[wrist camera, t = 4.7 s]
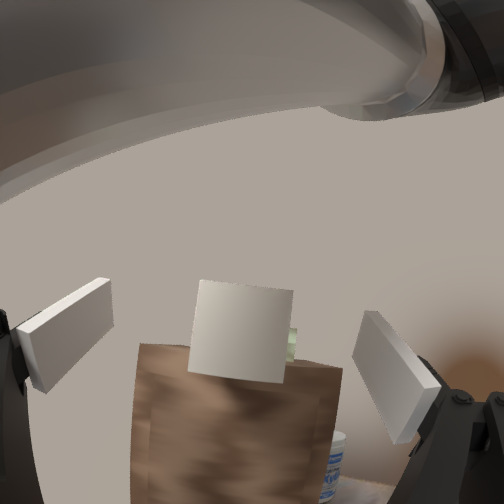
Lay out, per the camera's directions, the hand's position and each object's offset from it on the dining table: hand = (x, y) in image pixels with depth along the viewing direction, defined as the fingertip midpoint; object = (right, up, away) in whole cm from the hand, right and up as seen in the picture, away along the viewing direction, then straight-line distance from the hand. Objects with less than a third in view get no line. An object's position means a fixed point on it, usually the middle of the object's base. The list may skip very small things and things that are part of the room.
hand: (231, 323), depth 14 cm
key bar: (0, -4, +6) cm, 7 cm away
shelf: (-4, -35, +3) cm, 35 cm away
